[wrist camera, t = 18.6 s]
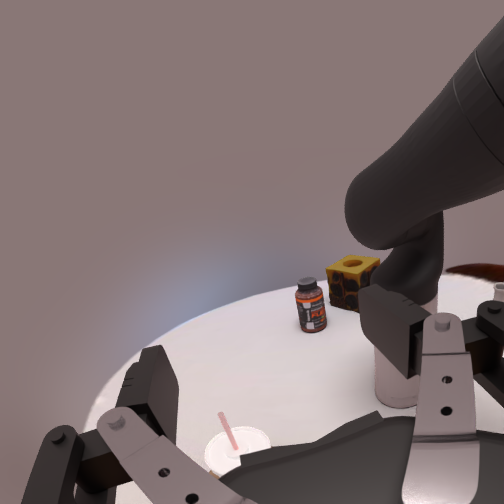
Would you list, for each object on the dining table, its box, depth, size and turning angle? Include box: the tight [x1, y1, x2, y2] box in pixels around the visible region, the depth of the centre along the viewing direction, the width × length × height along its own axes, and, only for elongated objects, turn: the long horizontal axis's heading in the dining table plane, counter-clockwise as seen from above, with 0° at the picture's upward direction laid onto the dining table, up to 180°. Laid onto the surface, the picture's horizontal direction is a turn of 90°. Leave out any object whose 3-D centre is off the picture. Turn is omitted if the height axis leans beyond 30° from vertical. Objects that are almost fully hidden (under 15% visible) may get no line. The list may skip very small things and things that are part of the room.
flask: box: [493, 282, 504, 302], centre depth 43 cm, size 7×7×10 cm
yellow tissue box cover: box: [326, 255, 380, 313], centre depth 72 cm, size 10×10×10 cm
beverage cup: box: [205, 412, 271, 477], centre depth 24 cm, size 6×6×14 cm
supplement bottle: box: [295, 277, 327, 332], centre depth 66 cm, size 6×6×11 cm
